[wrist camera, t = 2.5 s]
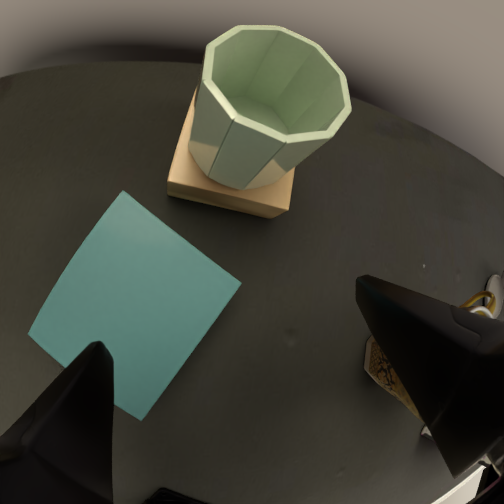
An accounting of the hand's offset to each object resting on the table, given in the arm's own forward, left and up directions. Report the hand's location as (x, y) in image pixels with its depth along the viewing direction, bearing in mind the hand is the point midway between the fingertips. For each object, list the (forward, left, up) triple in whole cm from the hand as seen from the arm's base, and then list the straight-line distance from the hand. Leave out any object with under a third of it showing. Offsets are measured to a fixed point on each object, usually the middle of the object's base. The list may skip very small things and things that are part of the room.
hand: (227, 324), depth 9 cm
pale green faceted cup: (+4, -10, -8) cm, 13 cm away
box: (+3, +3, -12) cm, 12 cm away
